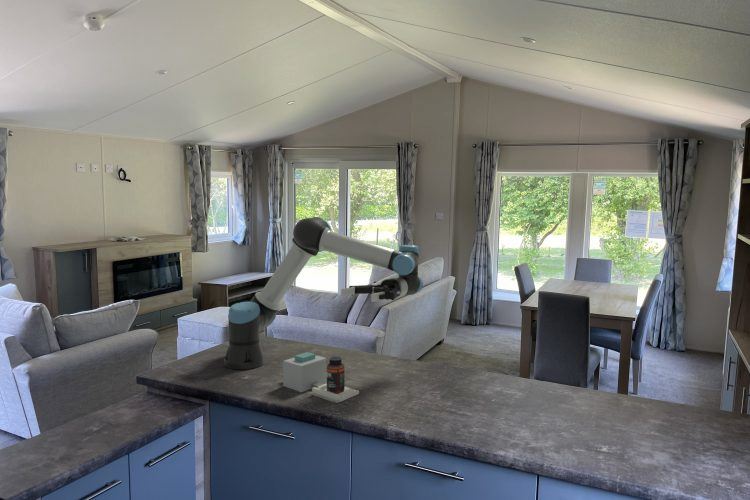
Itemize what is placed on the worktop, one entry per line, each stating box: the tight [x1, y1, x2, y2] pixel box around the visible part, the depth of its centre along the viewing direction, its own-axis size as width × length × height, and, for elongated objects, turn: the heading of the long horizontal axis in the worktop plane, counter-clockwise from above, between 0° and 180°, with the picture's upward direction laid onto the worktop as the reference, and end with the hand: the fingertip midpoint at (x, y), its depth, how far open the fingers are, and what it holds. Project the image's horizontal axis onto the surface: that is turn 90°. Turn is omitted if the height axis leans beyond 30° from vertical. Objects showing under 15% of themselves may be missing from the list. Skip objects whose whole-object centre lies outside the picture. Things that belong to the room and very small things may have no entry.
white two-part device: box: [282, 351, 360, 404], centre depth 183 cm, size 28×12×11 cm, turn 52°
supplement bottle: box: [326, 356, 346, 394], centre depth 178 cm, size 6×6×11 cm
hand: (356, 295), depth 185 cm, fingers open, 13 cm apart
